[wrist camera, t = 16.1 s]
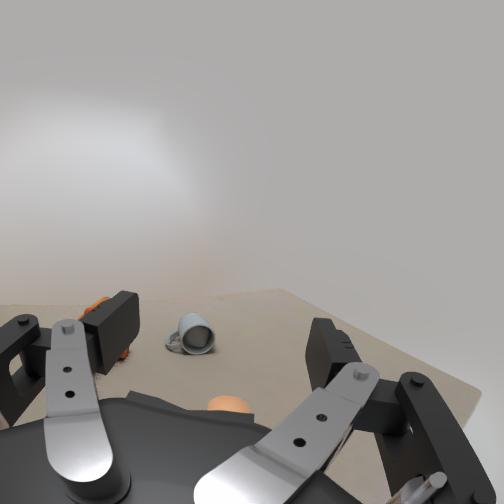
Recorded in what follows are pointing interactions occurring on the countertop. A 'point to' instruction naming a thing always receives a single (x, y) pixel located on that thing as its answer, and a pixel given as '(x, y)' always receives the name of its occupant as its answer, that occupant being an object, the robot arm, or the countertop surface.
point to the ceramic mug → (192, 335)
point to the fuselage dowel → (228, 404)
